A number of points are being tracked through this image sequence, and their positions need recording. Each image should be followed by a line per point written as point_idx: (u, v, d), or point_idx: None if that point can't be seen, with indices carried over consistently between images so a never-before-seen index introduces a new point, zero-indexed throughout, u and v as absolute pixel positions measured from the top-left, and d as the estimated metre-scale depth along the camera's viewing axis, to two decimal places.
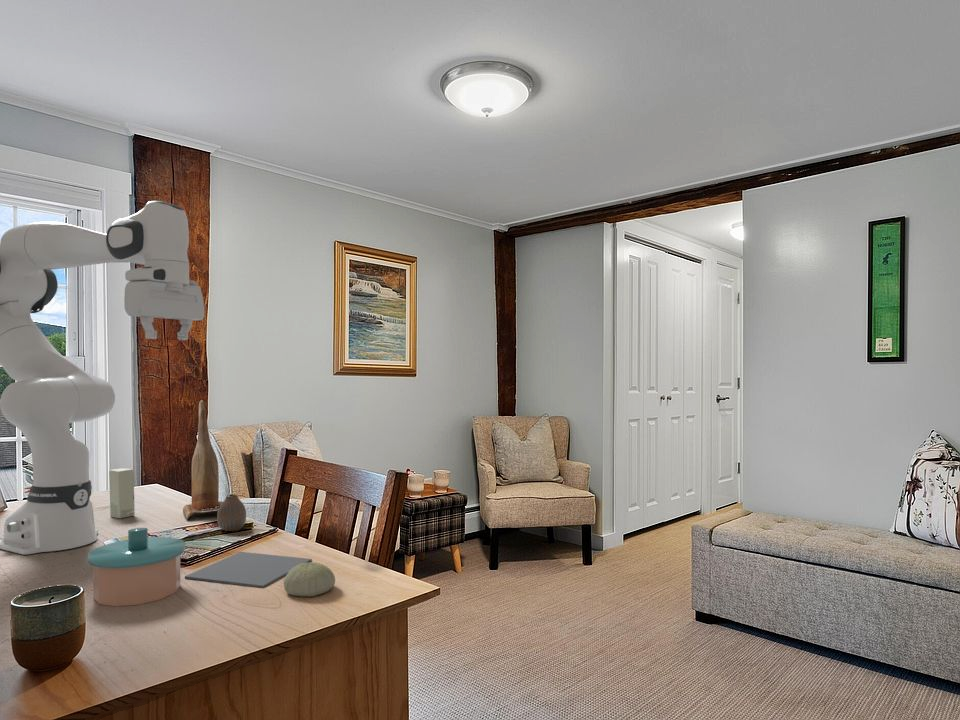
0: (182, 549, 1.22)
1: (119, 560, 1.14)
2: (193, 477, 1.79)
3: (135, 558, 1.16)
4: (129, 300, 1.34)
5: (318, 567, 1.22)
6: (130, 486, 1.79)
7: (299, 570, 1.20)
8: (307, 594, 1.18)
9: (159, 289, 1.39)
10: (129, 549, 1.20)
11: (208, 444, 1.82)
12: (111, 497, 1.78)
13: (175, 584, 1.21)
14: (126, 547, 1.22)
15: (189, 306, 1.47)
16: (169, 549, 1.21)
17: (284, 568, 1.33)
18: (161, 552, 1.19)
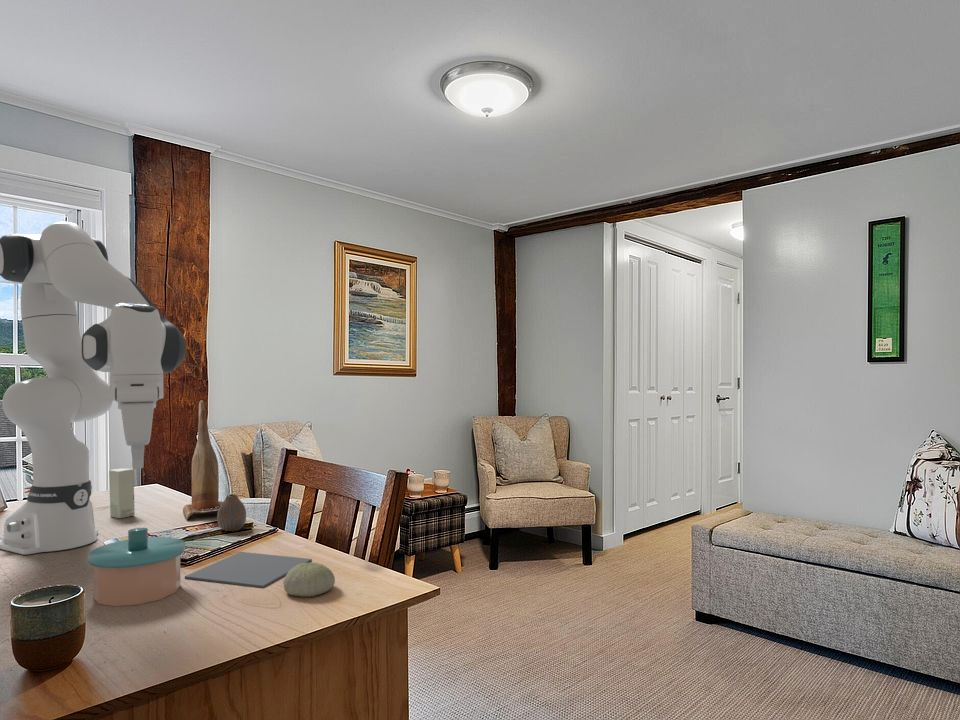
0: (182, 549, 1.22)
1: (119, 560, 1.14)
2: (193, 477, 1.79)
3: (135, 558, 1.16)
4: (134, 427, 1.12)
5: (318, 567, 1.21)
6: (129, 486, 1.79)
7: (299, 570, 1.20)
8: (307, 594, 1.18)
9: None
10: (129, 549, 1.20)
11: (208, 444, 1.82)
12: (111, 497, 1.78)
13: (175, 584, 1.21)
14: (126, 547, 1.22)
15: None
16: (169, 549, 1.21)
17: (284, 568, 1.33)
18: (161, 552, 1.19)
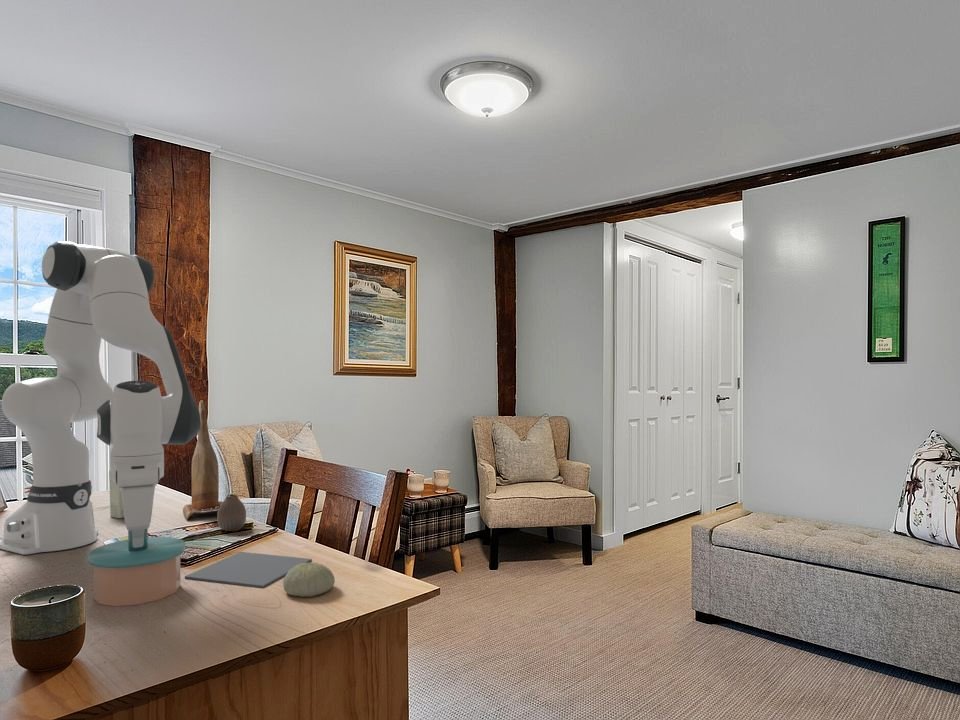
0: (182, 549, 1.22)
1: (119, 560, 1.14)
2: (193, 477, 1.79)
3: (135, 558, 1.16)
4: (134, 512, 1.12)
5: (318, 567, 1.21)
6: None
7: (299, 570, 1.20)
8: (306, 594, 1.18)
9: None
10: (129, 549, 1.20)
11: (208, 444, 1.82)
12: (111, 497, 1.78)
13: (175, 584, 1.21)
14: (126, 547, 1.22)
15: None
16: (169, 549, 1.21)
17: (284, 568, 1.33)
18: (161, 552, 1.19)
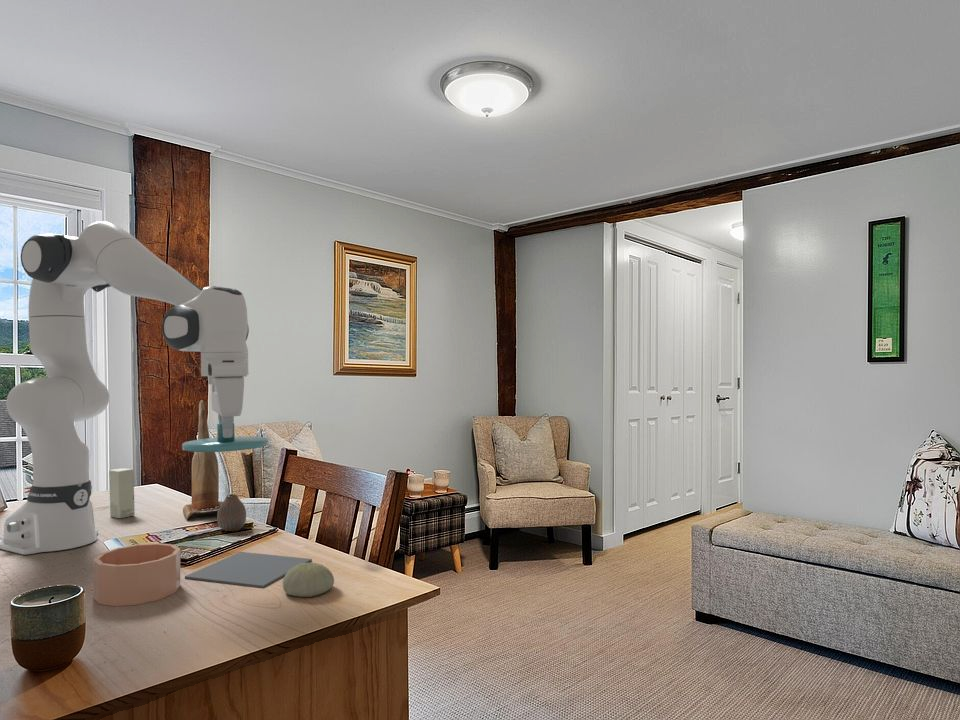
0: (266, 442, 1.32)
1: (213, 446, 1.24)
2: (193, 477, 1.79)
3: (227, 445, 1.25)
4: (228, 399, 1.22)
5: (317, 567, 1.21)
6: (129, 486, 1.79)
7: (298, 570, 1.20)
8: (306, 594, 1.18)
9: None
10: (218, 441, 1.30)
11: None
12: (111, 497, 1.78)
13: (175, 584, 1.21)
14: (214, 441, 1.32)
15: None
16: (255, 441, 1.30)
17: (284, 568, 1.33)
18: (249, 442, 1.28)
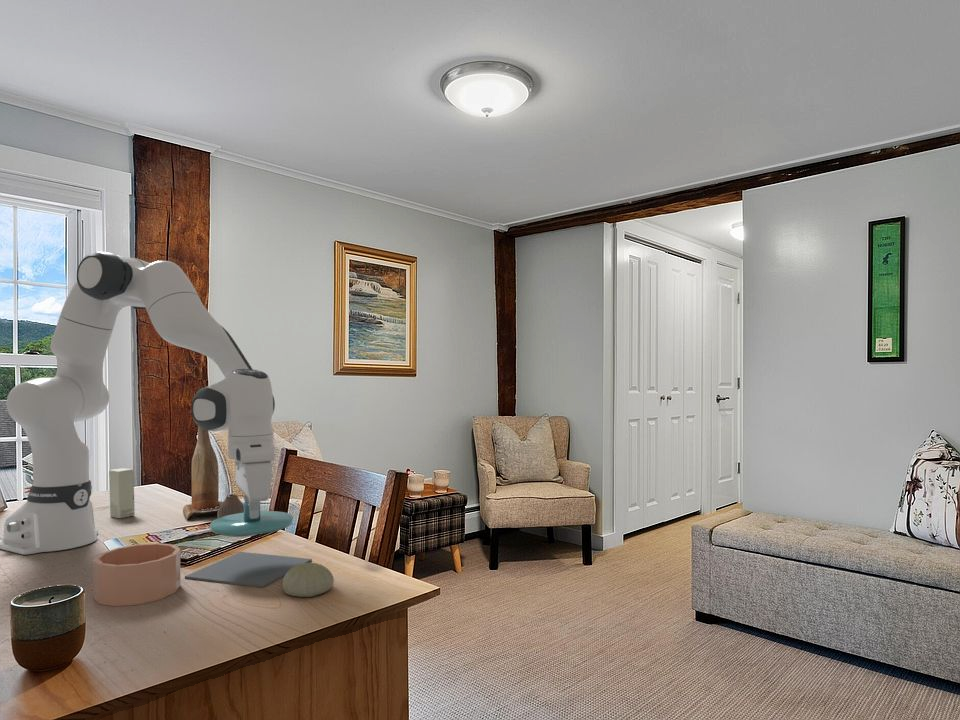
0: (291, 520, 1.35)
1: (242, 529, 1.27)
2: (193, 477, 1.79)
3: (255, 527, 1.28)
4: (257, 485, 1.25)
5: (317, 567, 1.21)
6: (129, 486, 1.79)
7: (298, 571, 1.20)
8: (306, 594, 1.18)
9: None
10: (245, 520, 1.33)
11: (208, 444, 1.82)
12: (111, 497, 1.78)
13: (175, 584, 1.21)
14: (241, 519, 1.35)
15: None
16: (281, 520, 1.34)
17: (284, 568, 1.33)
18: (275, 522, 1.32)
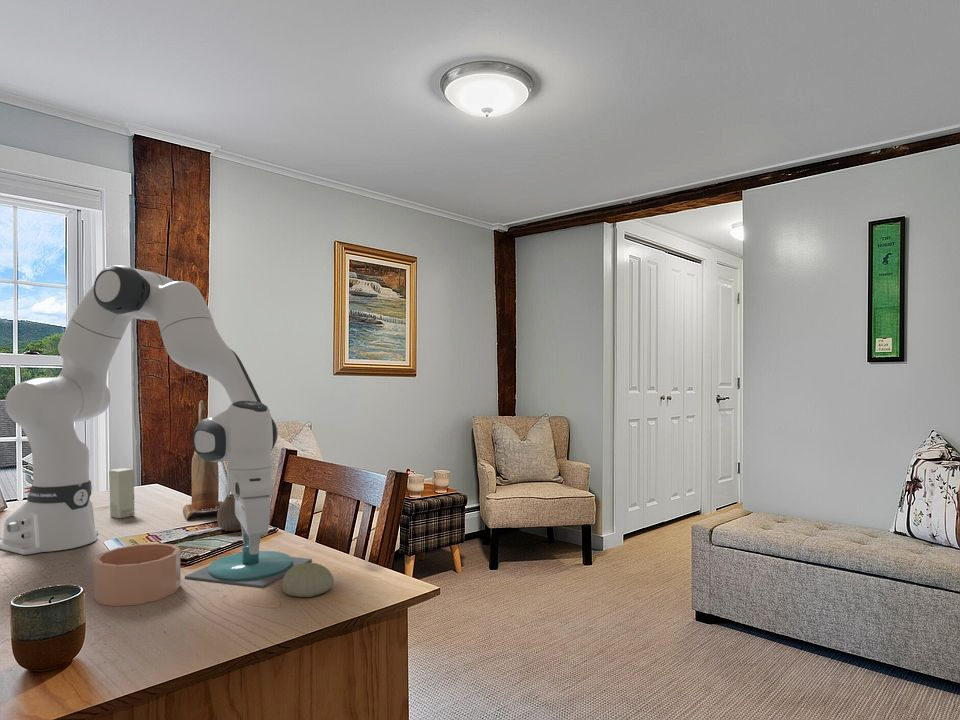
0: (290, 563, 1.35)
1: (240, 573, 1.27)
2: (193, 477, 1.79)
3: (253, 571, 1.28)
4: (255, 520, 1.25)
5: (317, 567, 1.21)
6: (129, 486, 1.79)
7: (298, 571, 1.20)
8: (305, 594, 1.18)
9: None
10: (244, 563, 1.33)
11: None
12: (111, 497, 1.78)
13: (175, 584, 1.21)
14: (239, 561, 1.35)
15: None
16: (279, 563, 1.34)
17: None
18: (273, 566, 1.32)
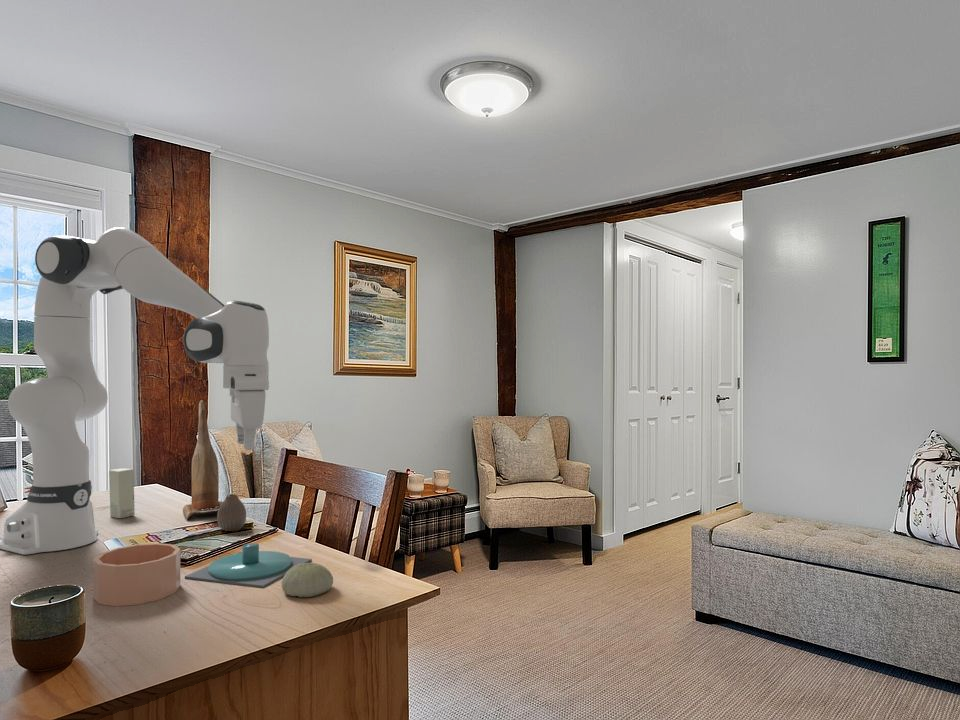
0: (290, 563, 1.35)
1: (240, 573, 1.27)
2: (193, 477, 1.79)
3: (253, 571, 1.28)
4: (250, 412, 1.26)
5: (316, 567, 1.21)
6: (129, 486, 1.79)
7: (297, 571, 1.20)
8: (305, 595, 1.18)
9: None
10: (244, 563, 1.33)
11: (208, 444, 1.82)
12: (111, 497, 1.78)
13: (175, 584, 1.21)
14: (239, 561, 1.35)
15: None
16: (279, 563, 1.34)
17: None
18: (273, 566, 1.32)
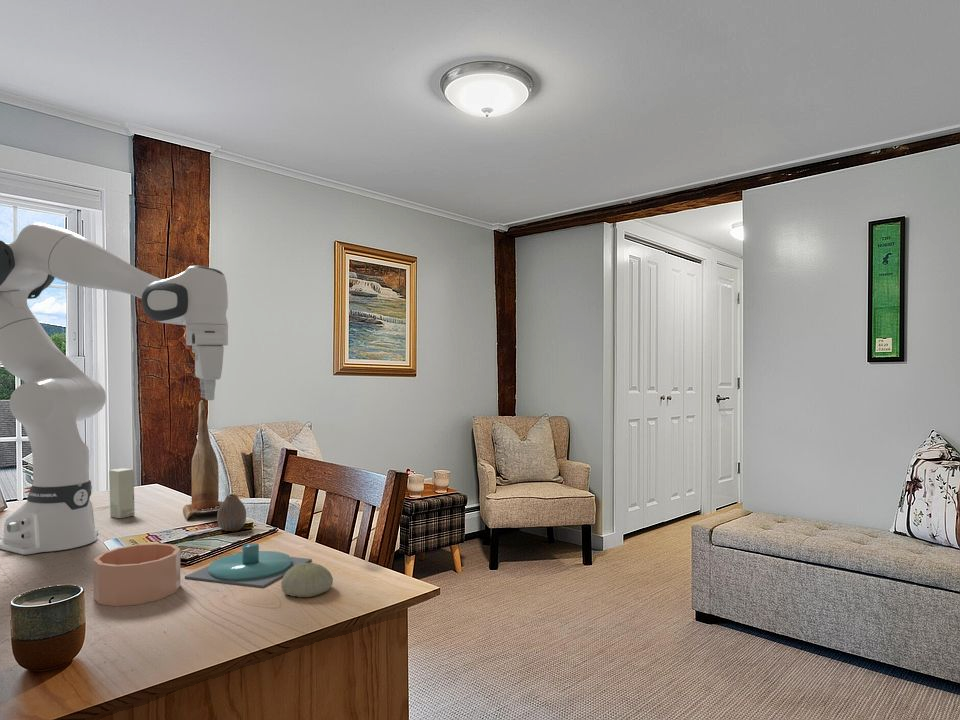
0: (290, 563, 1.35)
1: (240, 573, 1.27)
2: (193, 477, 1.79)
3: (253, 571, 1.28)
4: (209, 364, 1.39)
5: (316, 567, 1.21)
6: (129, 486, 1.79)
7: (297, 571, 1.20)
8: (305, 595, 1.18)
9: None
10: (244, 563, 1.33)
11: (208, 444, 1.82)
12: (111, 497, 1.78)
13: (175, 584, 1.21)
14: (239, 561, 1.35)
15: None
16: (279, 563, 1.34)
17: None
18: (273, 566, 1.32)
